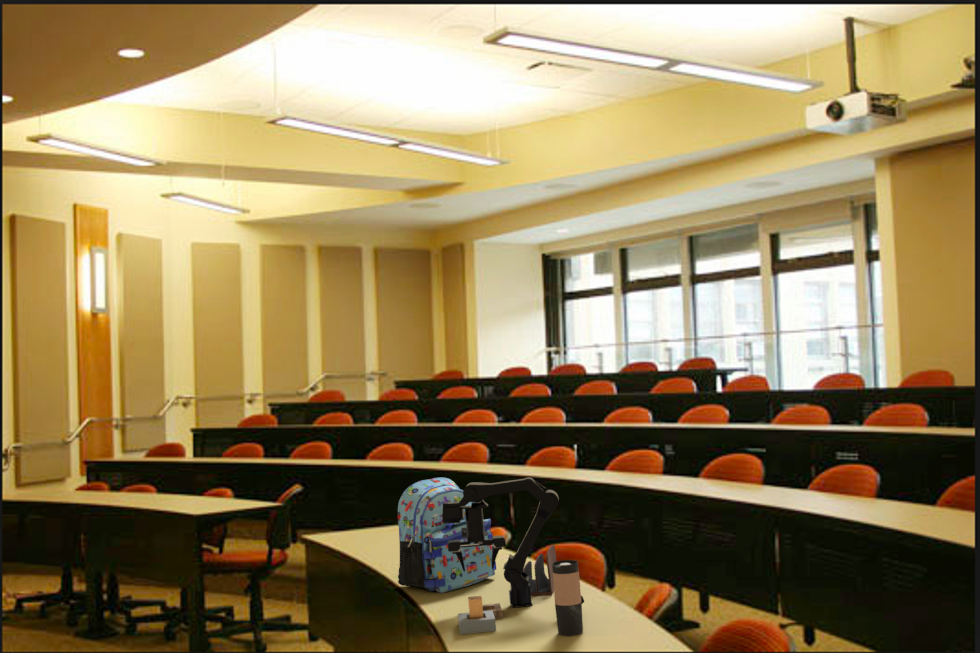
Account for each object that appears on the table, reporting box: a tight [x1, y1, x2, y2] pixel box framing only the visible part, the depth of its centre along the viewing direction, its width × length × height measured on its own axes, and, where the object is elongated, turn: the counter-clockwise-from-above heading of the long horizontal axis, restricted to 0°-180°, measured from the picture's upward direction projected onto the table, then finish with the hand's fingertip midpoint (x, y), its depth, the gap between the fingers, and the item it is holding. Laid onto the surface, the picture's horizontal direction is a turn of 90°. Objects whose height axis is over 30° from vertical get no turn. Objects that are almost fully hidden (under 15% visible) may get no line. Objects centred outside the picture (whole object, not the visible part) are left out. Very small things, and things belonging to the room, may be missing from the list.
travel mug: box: [552, 559, 584, 637], centre depth 290 cm, size 8×8×20 cm
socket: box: [457, 610, 497, 635], centre depth 303 cm, size 11×11×4 cm
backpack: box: [397, 477, 497, 594], centre depth 369 cm, size 34×25×38 cm
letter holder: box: [523, 544, 557, 597], centre depth 348 cm, size 10×20×14 cm, turn 170°
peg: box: [467, 595, 483, 619], centre depth 303 cm, size 4×4×9 cm
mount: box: [482, 602, 504, 620], centre depth 316 cm, size 9×9×2 cm
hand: (478, 570), depth 328 cm, fingers open, 9 cm apart
